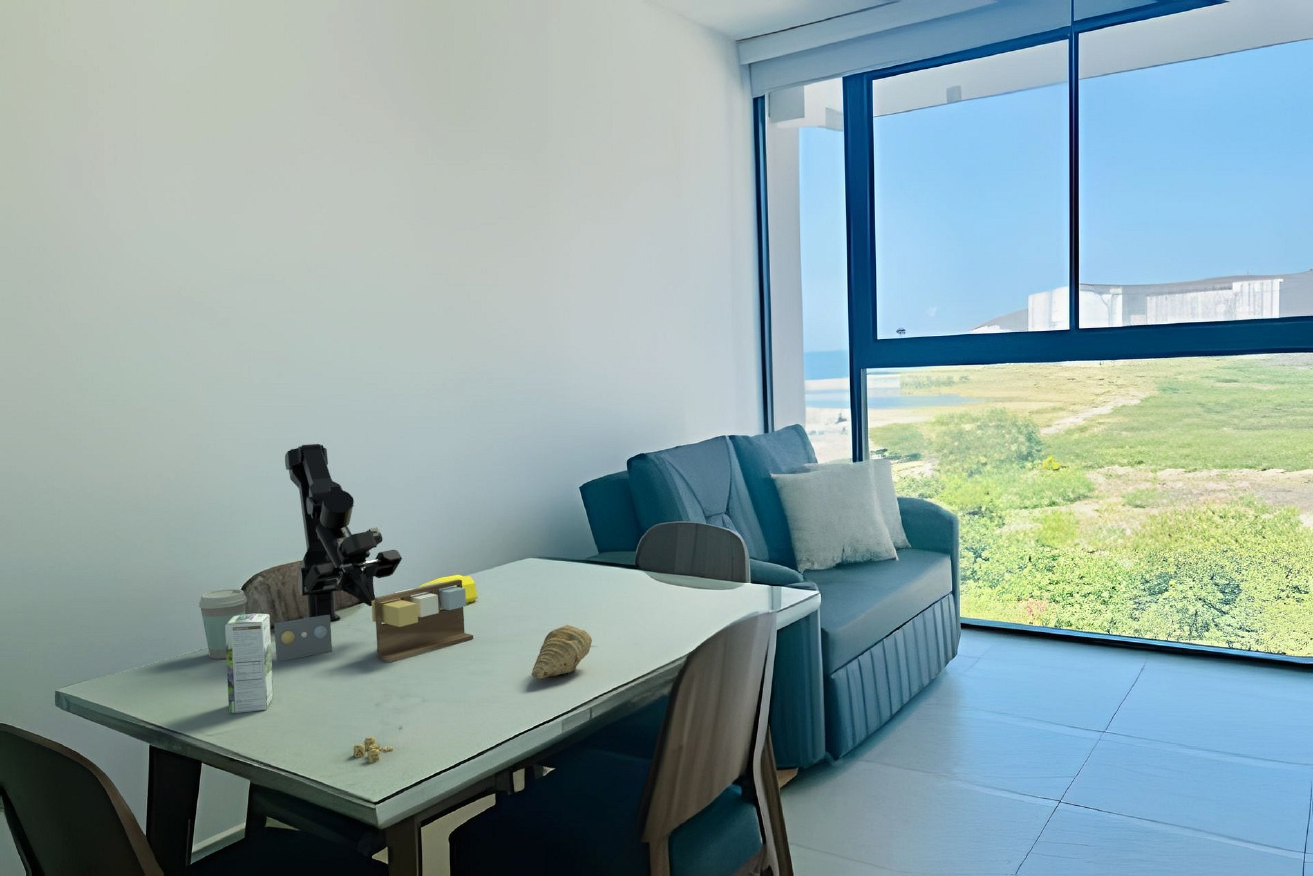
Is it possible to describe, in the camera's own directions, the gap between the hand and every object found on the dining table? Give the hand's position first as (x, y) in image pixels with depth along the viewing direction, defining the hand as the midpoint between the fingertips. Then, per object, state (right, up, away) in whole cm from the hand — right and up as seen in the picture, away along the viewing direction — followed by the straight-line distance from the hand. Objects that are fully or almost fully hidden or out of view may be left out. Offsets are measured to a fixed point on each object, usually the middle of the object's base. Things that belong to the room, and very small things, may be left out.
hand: (372, 604), depth 186 cm
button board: (+11, -8, 0) cm, 13 cm away
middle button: (+8, -2, +1) cm, 9 cm away
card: (-12, -9, -2) cm, 16 cm away
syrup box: (-10, -11, -30) cm, 34 cm away
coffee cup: (-28, -10, +1) cm, 30 cm away
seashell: (+38, -9, -20) cm, 44 cm away
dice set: (+15, -12, -52) cm, 56 cm away
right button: (+13, -1, +6) cm, 14 cm away
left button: (+6, -2, -5) cm, 8 cm away
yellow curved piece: (+7, -7, +34) cm, 36 cm away
